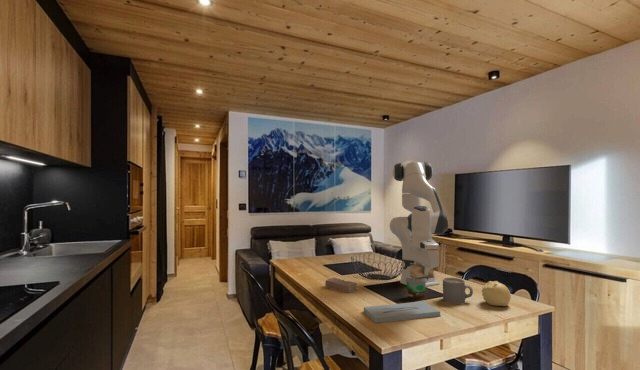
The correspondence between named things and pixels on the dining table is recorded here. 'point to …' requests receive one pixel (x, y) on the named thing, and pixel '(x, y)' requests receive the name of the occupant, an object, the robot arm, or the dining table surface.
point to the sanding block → (420, 272)
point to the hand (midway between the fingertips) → (422, 273)
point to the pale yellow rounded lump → (496, 293)
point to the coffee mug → (455, 290)
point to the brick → (341, 285)
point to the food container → (416, 287)
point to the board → (401, 311)
